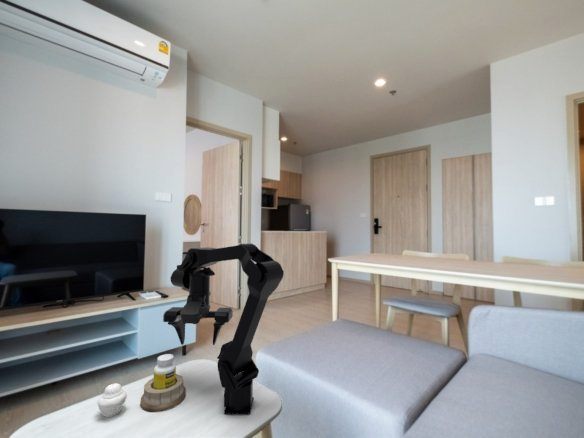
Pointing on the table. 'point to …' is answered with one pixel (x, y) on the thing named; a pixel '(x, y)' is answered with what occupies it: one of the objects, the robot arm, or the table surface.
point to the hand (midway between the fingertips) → (198, 344)
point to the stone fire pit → (163, 396)
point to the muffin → (112, 400)
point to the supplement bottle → (164, 372)
